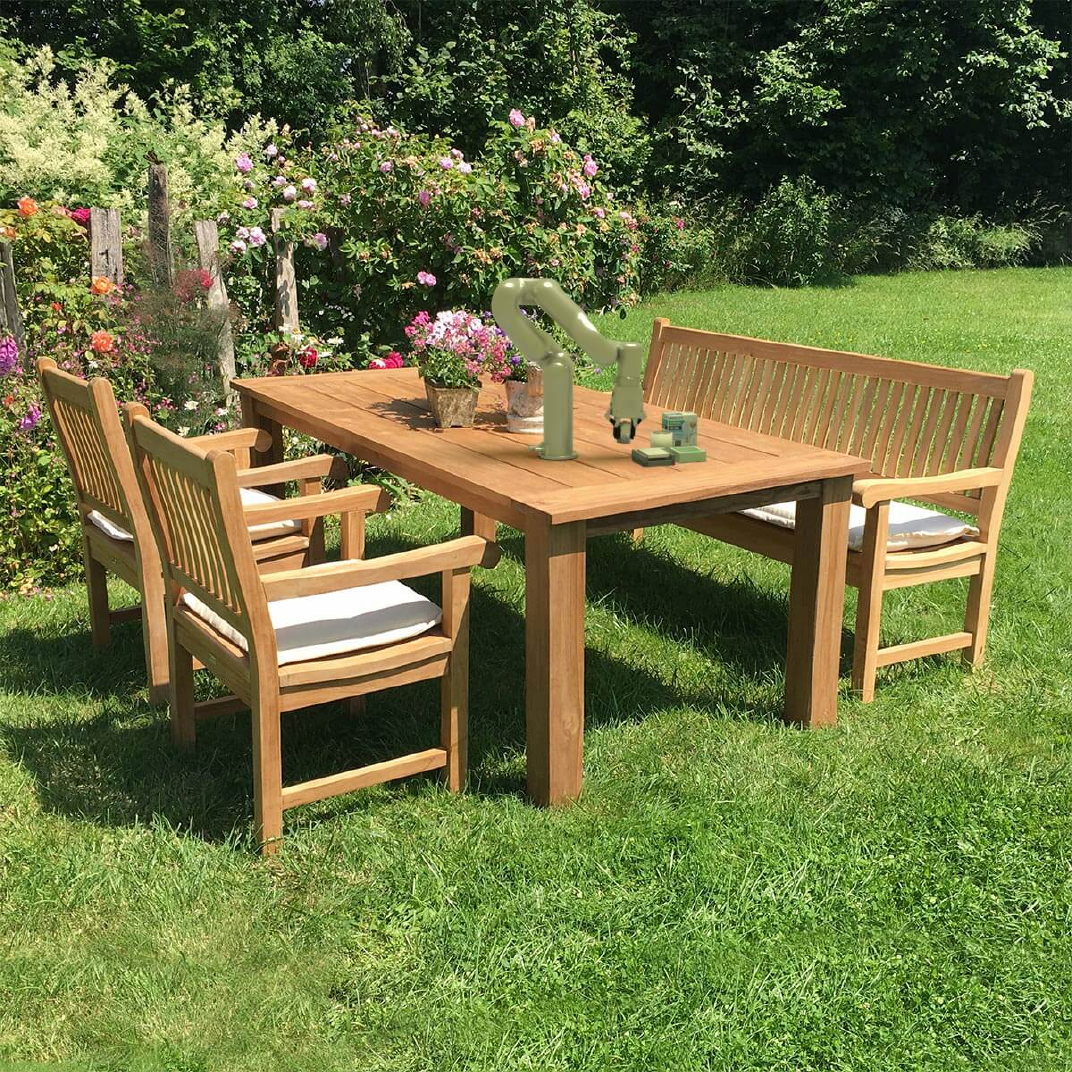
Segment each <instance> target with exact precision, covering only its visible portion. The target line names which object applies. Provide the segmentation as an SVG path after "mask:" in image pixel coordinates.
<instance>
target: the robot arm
mask: <svg viewBox="0 0 1072 1072" xmlns="http://www.w3.org/2000/svg"><path fill="white" fill-rule="evenodd" d="M520 305H521V306H538V307H540V308H541V310H543V311H544V312H545V314H547V315H548V317H550V318H551V319H552V320H553V321H554V322H555V323H556V324H557V325H558V326H559V327H560V328H561V329H562V330H563V331H564V332H565V334H567V335H568V337H570V338H571V339H572V341H573V342H574V343H575V344H576V345H577V346H578V347H579V348H580V349H581V350H582V352H584V353H585V354H586V355H587V356H588V357H589V358H590V359H591V360H592V361H593V362H594V363H596V364H597V365H598V366H600V367H604V368H605V367H610V366H612V365H613V364H614V363H616V364H617V365H616V366H617V367H616V375H615V377H613V378H612V379H611V382H612V383H615V385H614V386H613V388H612V390H611V391H612V392H611V396H610V402H609V408H608V409H607V410H606V411H605V413H604V414H603V417H604V418H605V419H606V420H607V421H609V423H610V424H611V426H613V427H612V437H613V438H614V439H615V440H616V441H617V440H618V439H619V432H620V428H619V422H620V421H621V419H630V422H632V428H631V441H634V439H635V437H636V430H637V427H638V426H639V425H640V423H642V421H644V420H645V419H647V418H648V416H647V413H646V412H645V411H644V390H643V389H644V388H643V386H641V376H642V375H641V374H642V373H641V372H642V362H643V349H644V347H643V345H642V344H641V343H640V342H634V341H617V340H614V339H609V338H608V339H607V338H605V336H604V335H602V333H601V332H599V330H598V329H597V328H596V327H595V326H594V325H593V324H592V322H591V321H590V319H589V317H588V315H587V314H586V313H585V311H584V310H583V308H581V307H580V306H579V304H577V303H576V302H575V301H574V300H573V299H572V298H571V297H569V295H568V294H567V293H566V292H565V291H564V290H563V289H562V287H561V285H560V284H559V283H558V281H556V280H555V279H552V278H545V277H544V278H531V277H529V278H527V277H526V278H525V277H510V278H506V279H505V280H503V281H501V282H500V283H499V284H498V285H497V286H496V288H495V290H494V292H493V296H492V299H491V312H492V316H493V318H494V322H496V324H497V325H498V326H499V328H500V329H501V331H502V332H503V333H504V334H505V335H506V336H507V337H508V339H509V340H510V341H511V342H512V344H514V346H515V347H516V348H517V349H518V350H519V352H520V353H521V354H522V356H523V357H525V359H526V360H528V361H530V362H532V363H535V364H536V365H537V366H538V367H539V369H541V370H542V375H541V376H542V377H541V380H542V405H543V407H542V409H543V410H542V411H543V412H542V413H543V414H542V415H543V421H542V422H543V441H540V443H538V445H537V444H536V445H535V444H534V445H533V444H532V445H529V446H528V451H529V452H535V453H538V457H539V456H540V457H539V458H541V459H543V460H550V461H551V460H552V461H562V460H563V461H564V460H565V461H566V460H572V459H576V458H578V456H579V452H578V451H577V450H574V375H575V371H576V369H575V368H576V367H575V364H574V361H573V360H572V359H571V357H570V356H569V355H568V354H567V353H566V351H565V350H564V349H563V348H562V347H561V345H559V344H558V342H556V340H555V339H554V338H553V337H552V335H550V334H549V333H548V332H547V331H546V330H543V329H538V328H537V327H536V326H535V325H534V324H533V323H532V322H531V320H530V319H529V317H527V316H526V314H524V313H523V311H522V310H521V309H520ZM612 416H613V418H612Z"/></svg>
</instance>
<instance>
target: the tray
mask: <svg viewBox="0 0 1072 1072" xmlns="http://www.w3.org/2000/svg"><path fill="white" fill-rule="evenodd" d="M669 452H670V453H672V454H674V455H675V462H677V463H679V464H683V462H686V463H698V462H697V461H701V462H706V461H707V450H704V449H702V448H700V447H698V446H697V445H696V446H687V447H672V448H669Z"/></svg>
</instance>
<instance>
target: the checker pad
mask: <svg viewBox="0 0 1072 1072" xmlns="http://www.w3.org/2000/svg"><path fill="white" fill-rule="evenodd" d="M636 450H637V451H639V452H640V453H642V454H644V455H646V456H647V457H648V458H660V457H669V453H667V452H665V451H663V450H662V449H660V448H650V447H647V448H636Z"/></svg>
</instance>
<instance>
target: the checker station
mask: <svg viewBox="0 0 1072 1072" xmlns="http://www.w3.org/2000/svg"><path fill="white" fill-rule="evenodd" d="M658 448H660V449H662V450H663V451H665V452H667V453H669V457H660V458H648V457H647V456H646V455H644V454H642V453H640V452H639V451H637V449H635V448H633V449H631V457H630V458H631V460H632V461H633V462H635V463H637V464H639V465H640V466H642V467H644V468H650V467H651V468H653V467H665V466H667V467H668V466H675V465H676V461H675V455H674V454H672V453H670V452H669V451H667V450H665V448H664V447H658Z"/></svg>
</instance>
